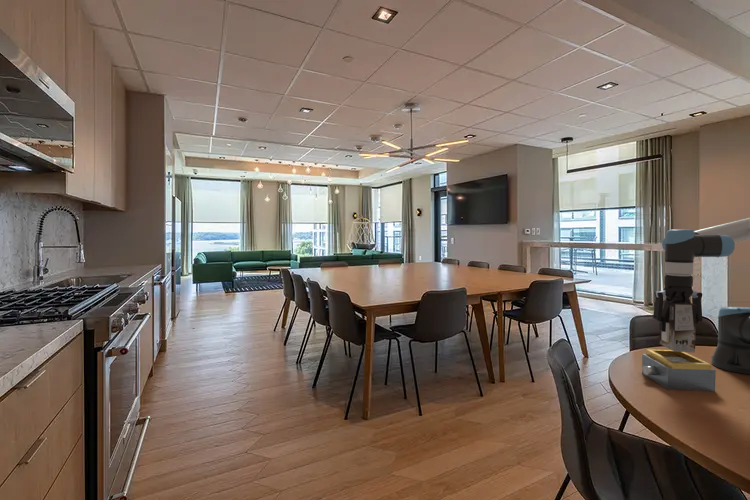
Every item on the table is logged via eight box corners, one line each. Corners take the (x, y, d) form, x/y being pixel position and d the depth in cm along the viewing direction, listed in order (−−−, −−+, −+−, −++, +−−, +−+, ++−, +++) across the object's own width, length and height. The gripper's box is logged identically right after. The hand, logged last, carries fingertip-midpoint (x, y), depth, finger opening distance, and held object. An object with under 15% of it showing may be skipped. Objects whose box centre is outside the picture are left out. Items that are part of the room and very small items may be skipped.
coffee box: (696, 353, 121) (697, 304, 120) (673, 351, 122) (675, 304, 121) (679, 344, 130) (680, 299, 129) (658, 343, 131) (659, 299, 130)
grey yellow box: (684, 374, 133) (684, 350, 132) (715, 391, 118) (715, 364, 118) (633, 372, 135) (633, 349, 135) (657, 389, 121) (657, 362, 120)
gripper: (702, 273, 127) (700, 338, 128) (640, 273, 130) (639, 337, 131) (719, 276, 120) (717, 345, 121) (653, 275, 122) (652, 343, 124)
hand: (676, 341), depth 126 cm, fingers closed on coffee box, 7 cm apart
